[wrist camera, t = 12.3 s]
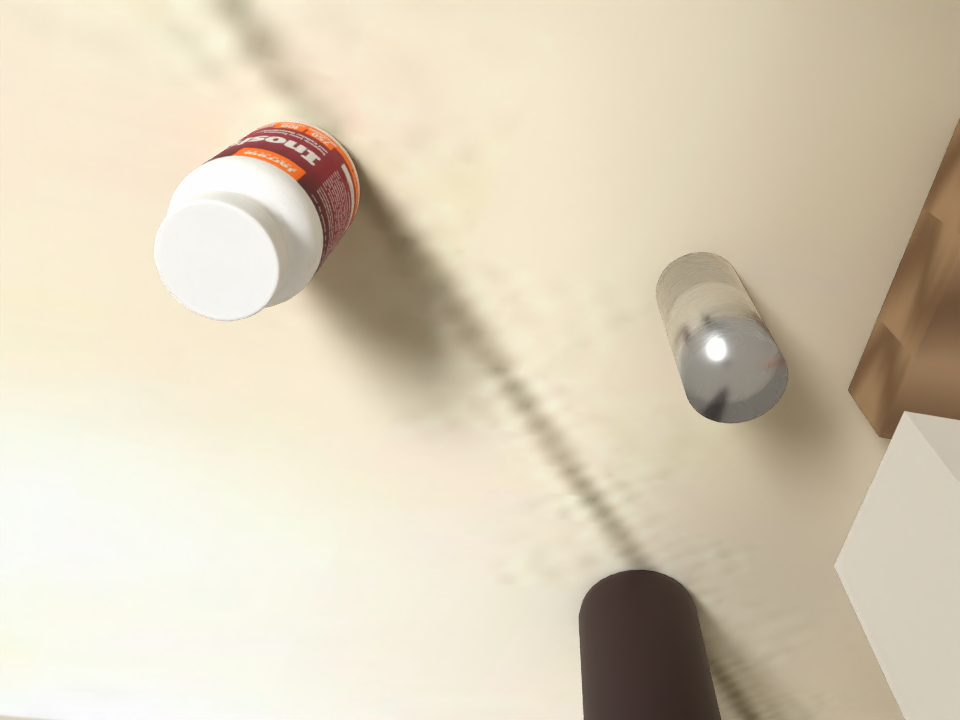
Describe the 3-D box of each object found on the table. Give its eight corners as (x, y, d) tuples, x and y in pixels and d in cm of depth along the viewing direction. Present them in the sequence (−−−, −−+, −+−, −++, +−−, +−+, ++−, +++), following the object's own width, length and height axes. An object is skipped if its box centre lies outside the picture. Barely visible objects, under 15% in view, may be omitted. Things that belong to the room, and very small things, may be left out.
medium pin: (664, 248, 40) (695, 330, 32) (747, 256, 40) (799, 341, 32) (649, 323, 42) (675, 417, 34) (728, 331, 42) (773, 428, 34)
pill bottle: (350, 110, 38) (283, 170, 28) (372, 239, 41) (318, 334, 31) (220, 124, 39) (110, 187, 29) (251, 249, 42) (160, 345, 32)
